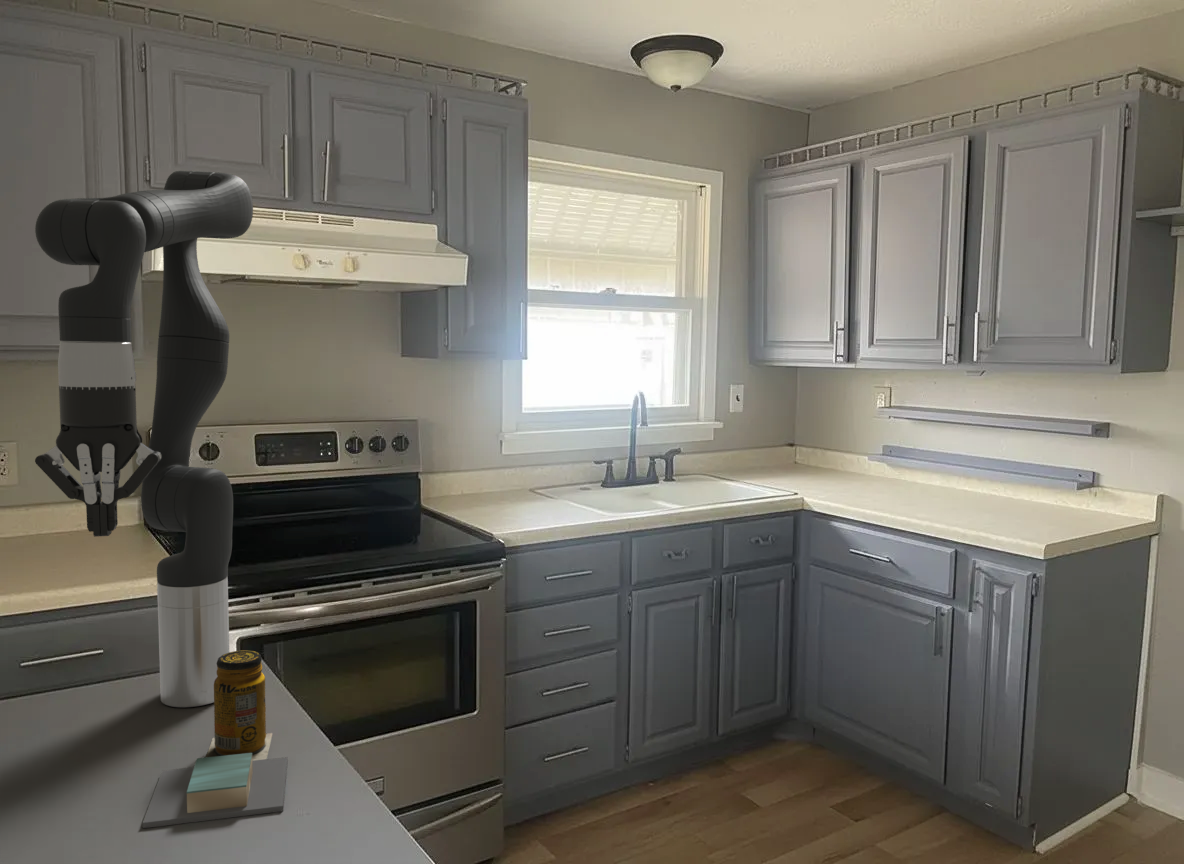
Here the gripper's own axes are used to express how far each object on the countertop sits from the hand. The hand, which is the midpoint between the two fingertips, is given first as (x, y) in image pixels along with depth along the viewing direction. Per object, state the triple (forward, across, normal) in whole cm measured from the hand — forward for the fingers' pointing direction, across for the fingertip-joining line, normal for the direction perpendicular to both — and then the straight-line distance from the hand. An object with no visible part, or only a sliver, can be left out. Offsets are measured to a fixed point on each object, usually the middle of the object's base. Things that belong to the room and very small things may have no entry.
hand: (103, 534), depth 102 cm
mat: (+29, +12, -6) cm, 32 cm away
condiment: (+29, +14, +4) cm, 33 cm away
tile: (+27, +13, -12) cm, 32 cm away
